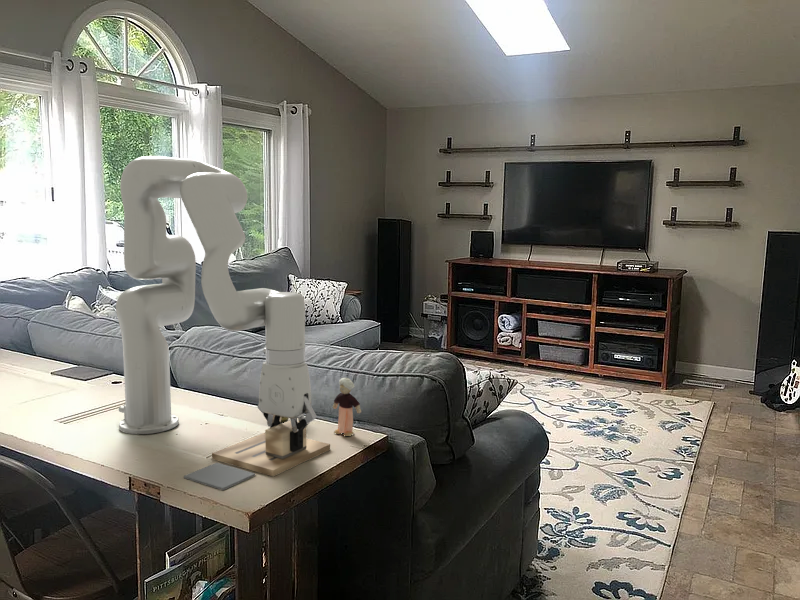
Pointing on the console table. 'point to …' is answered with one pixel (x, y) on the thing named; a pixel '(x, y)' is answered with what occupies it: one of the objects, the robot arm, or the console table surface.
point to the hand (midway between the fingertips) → (286, 446)
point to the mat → (219, 476)
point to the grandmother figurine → (346, 407)
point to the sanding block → (281, 440)
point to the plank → (255, 457)
